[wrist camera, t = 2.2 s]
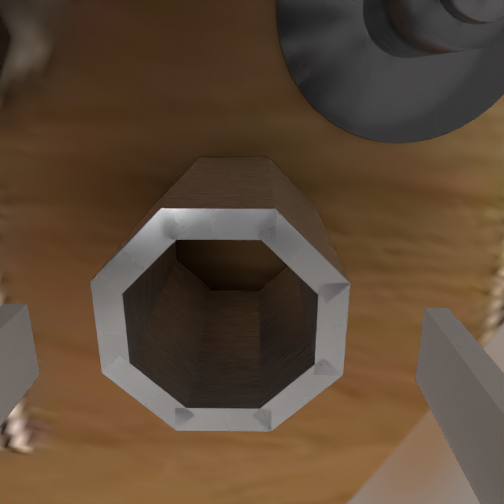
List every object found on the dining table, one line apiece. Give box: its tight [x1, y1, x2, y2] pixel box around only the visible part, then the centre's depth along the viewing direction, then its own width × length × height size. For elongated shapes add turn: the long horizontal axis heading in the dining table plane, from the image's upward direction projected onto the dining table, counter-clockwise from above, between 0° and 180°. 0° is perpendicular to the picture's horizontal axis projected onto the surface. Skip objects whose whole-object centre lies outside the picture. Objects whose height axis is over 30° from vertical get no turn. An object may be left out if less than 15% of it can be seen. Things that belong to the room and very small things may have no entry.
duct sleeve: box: [90, 157, 350, 431], centre depth 20 cm, size 8×8×10 cm
